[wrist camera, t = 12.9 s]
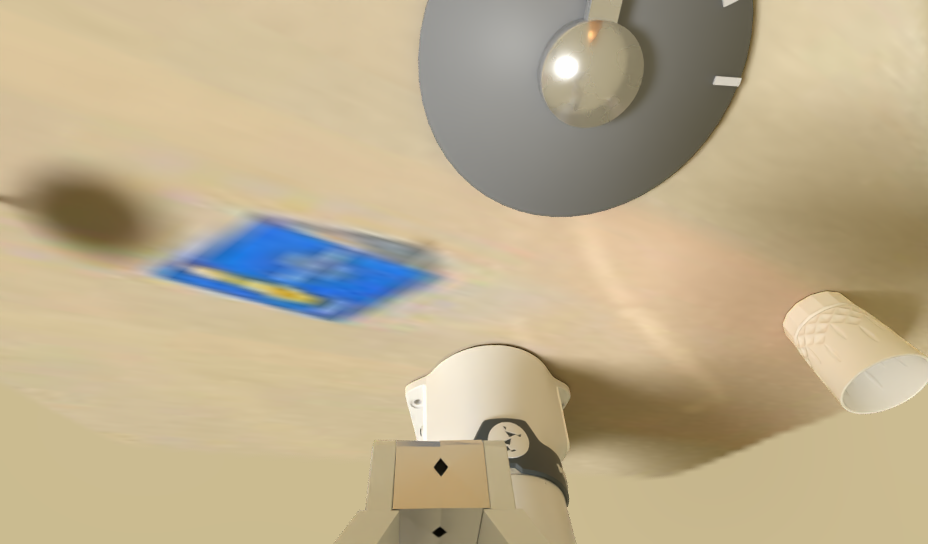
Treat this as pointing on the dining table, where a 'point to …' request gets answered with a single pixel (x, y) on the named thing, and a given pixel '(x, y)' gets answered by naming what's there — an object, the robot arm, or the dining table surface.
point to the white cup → (855, 353)
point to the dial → (591, 67)
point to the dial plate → (545, 136)
